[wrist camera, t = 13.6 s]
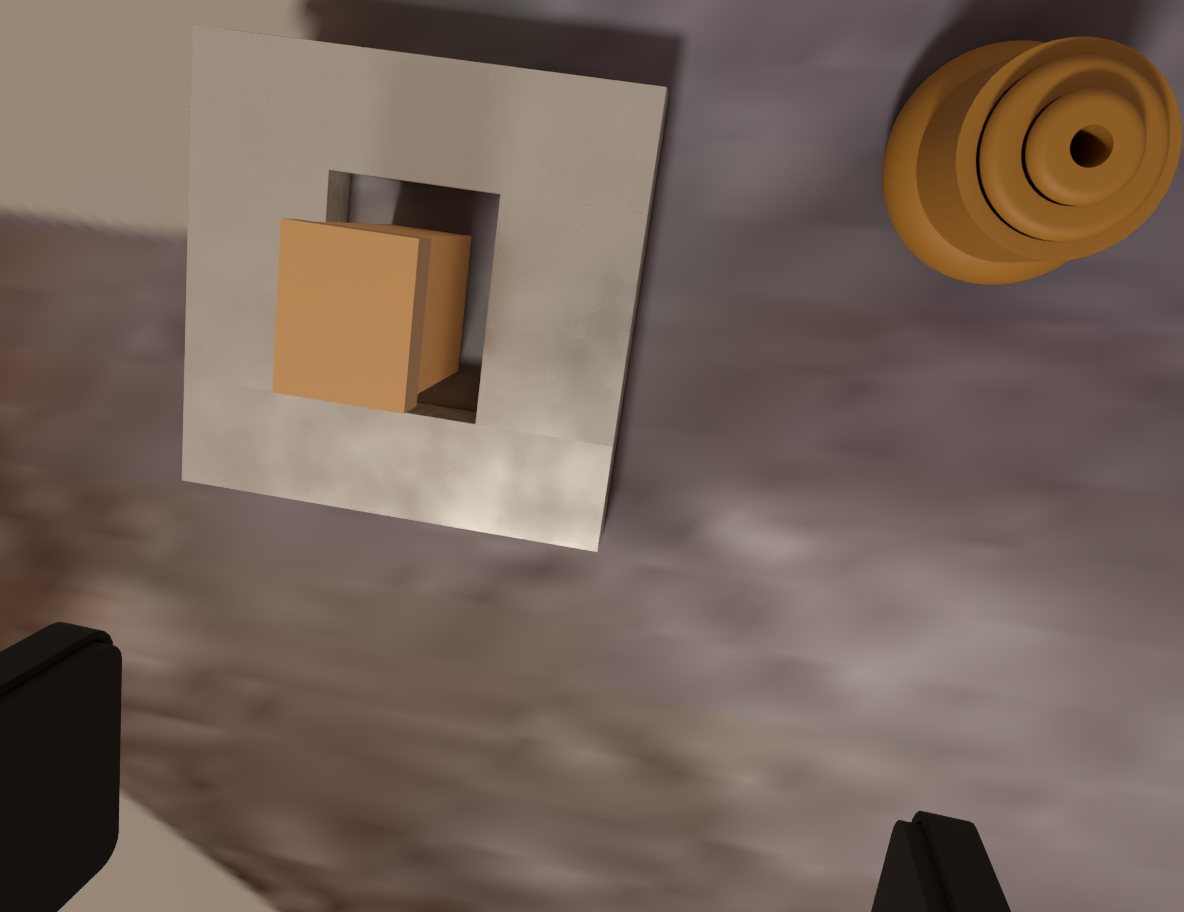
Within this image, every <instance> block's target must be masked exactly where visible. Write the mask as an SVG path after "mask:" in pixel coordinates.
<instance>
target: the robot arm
mask: <svg viewBox="0 0 1184 912" xmlns="http://www.w3.org/2000/svg"><path fill="white" fill-rule="evenodd" d="M121 682H122V656H121V652H120V650H119V648H117V647H116V646H113V641H112V639H111V637H110V635H109V634H107V633H106V632H105V631H101V630H97V629H92V628H88V627H83V626H78V625H74V624H69V623H64V622H57V623H54V624H51V625H49V626H47V627H45V628H44V629H42V630H40V631H38V632H36V633H34V634H33V635H31V636H29V637H27V638H25V639H23V640H21V641H20V642H18V643H16V644H14V645H12V646H10V647H9V648H7V649H5V650H3V651H1V652H0V912H57V911H58V910H59V909H60V908H62V907H63V906H64V905H65V904H66V903H67V902H68V901H69V900H70V899H71V898H72V897H73V896H74V895H75V894H76V893H77V892H78V891H79V890H80V889H81V888H82V887H83V886H84V885H85V884H86V883H87V882H88V881H89V880H90V879H91V878H93V876H95V874H97V873H98V872H99V871H100V870H101V869H102V868H103V866H104V865H105V864H106V863H107V862H108V860H109V858H110V857H111V855H112V853H113V851H114V848H115V846H116V843H117V839H118V833H119V784H120V733H121ZM871 912H1011V911H1010V908H1009V906H1008V903H1007V901H1006V898H1005V896H1004V894H1003V891H1002V889H1001V886H1000V884H999V882H998V879H997V877H996V874H995V872H994V869H993V867H992V865H991V862H990V860H989V857H988V855H987V853H986V850H985V848H984V845H983V843H982V840H981V838H980V836H979V833H978V831H977V829H976V827H975V825H974V824H973V823H971V822H969V821H965V820H960V819H956V818H951V817H947V816H942V815H938V814H933V813H928V812H924V811H918V812H917V813H916V814H915V816H914V817H913V819H912V822H906V821H902V820H898V821H897V822H896V824H895V825H894V828H893V831H892V834H891V838H890V842H889V846H888V850H887V853H886V857H885V861H884V865H883V869H882V872H881V876H880V880H879V884H878V888H877V891H876V895H875V899H874V903H873V907H872V910H871Z"/></svg>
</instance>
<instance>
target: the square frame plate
mask: <svg viewBox="0 0 1184 912" xmlns="http://www.w3.org/2000/svg"><path fill="white" fill-rule="evenodd" d="M191 72H192V73H191V114H190V116H191V117H190V156H189V157H190V158H189V199H188V241H187V284H186V327H185V370H184V413H183V456H182V480H184V481H190V482H196V483H202V484H207V485H213V486H219V487H225V488H231V489H236V490H242V491H248V492H254V493H259V494H265V495H271V496H277V497H283V498H288V499H294V500H300V501H306V502H312V503H317V504H323V505H329V506H335V507H340V508H346V509H352V510H358V511H364V512H369V513H375V514H381V515H387V516H393V517H398V518H404V519H410V520H416V521H421V522H427V523H433V524H439V525H445V526H450V527H456V528H462V529H468V530H474V531H479V532H485V533H491V534H497V535H502V536H508V537H514V538H520V539H526V540H531V541H537V542H543V543H549V544H555V545H560V546H566V547H572V548H578V549H583V550H589V551H595V552H597V551H598V548H599V545H600V542H601V538H602V535H603V530H604V523H605V516H606V510H607V503H608V497H609V490H610V483H611V477H612V470H613V463H614V457H615V450H616V443H617V437H618V430H619V423H620V417H621V410H622V404H623V397H624V390H625V384H626V377H627V370H628V364H629V357H630V350H631V344H632V337H633V331H634V324H635V317H636V311H637V304H638V297H639V291H640V284H641V277H642V271H643V264H644V257H645V251H646V244H647V238H648V231H649V224H650V218H651V211H652V204H653V198H654V191H655V184H656V178H657V171H658V165H659V158H660V151H661V145H662V138H663V131H664V125H665V118H666V111H667V105H668V98H669V95H668V90H667V87H662V86H655V85H647V84H640V83H632V82H624V81H617V80H609V79H602V78H594V77H586V76H579V75H571V74H564V73H556V72H548V71H541V70H533V69H526V68H518V67H510V66H503V65H495V64H488V63H480V62H472V61H465V60H457V59H450V58H442V57H434V56H427V55H419V54H411V53H404V52H396V51H389V50H381V49H373V48H366V47H358V46H351V45H343V44H335V43H328V42H320V41H313V40H305V39H297V38H290V37H282V36H275V35H267V34H259V33H252V32H244V31H237V30H229V29H221V28H214V27H206V26H198V25H193V28H192V70H191ZM351 174H358V175H365V176H372V177H379V178H386V179H393V180H400V181H407V182H414V183H421V184H428V185H435V186H442V187H449V188H456V189H463V190H470V191H477V192H484V193H491V194H498V195H500V203H499V212H498V221H497V231H496V240H495V249H494V258H493V267H492V277H491V286H490V295H489V304H488V313H487V323H486V332H485V341H484V350H483V360H482V369H481V378H480V387H479V396H478V406H477V412H475V411H469V410H463V409H457V408H451V407H444V406H438V405H432V404H426V403H420V402H417V405H416V407H414V408H413V409H411V410H409V411H408V412H406V413H404V414H402V413H396V412H390V411H384V410H377V409H371V408H365V407H359V406H353V405H346V404H340V403H334V402H328V401H322V400H316V399H309V398H303V397H297V396H291V395H285V394H279V393H272V391H273V370H274V349H275V328H276V307H277V286H278V265H279V245H280V224H281V218H282V219H301V220H308V221H315V222H340V223H347V222H348V207H349V192H350V177H351Z"/></svg>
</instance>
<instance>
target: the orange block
mask: <svg viewBox="0 0 1184 912" xmlns="http://www.w3.org/2000/svg"><path fill="white" fill-rule="evenodd" d="M471 238H472V236H468V235H461V234H454V233H447V232H441V231H434V230H427V229H420V228H413V227H406V226H399V225H392V224H367V223H340V222H315V221H308V220H301V219H282V218H281V224H280V245H279V265H278V286H277V307H276V328H275V349H274V370H273V391H272V393H279V394H285V395H291V396H297V397H303V398H309V399H316V400H322V401H328V402H334V403H340V404H346V405H353V406H359V407H365V408H371V409H377V410H384V411H390V412H396V413H402V414H404V413H406V412H408V411H409V410H411V409H413V408H414V407H416V405H417V394H418V393H420V392H422V391H424V390H426V389H427V388H429V387H431V386H433V385H434V384H436V383H438V382H440V381H441V380H443V379H445V378H447V377H449V376H450V375H452V374H454V373H456V372H457V371H458V367H459V357H460V347H461V337H462V327H463V318H464V308H465V298H466V288H467V278H468V268H469V258H470V248H471Z"/></svg>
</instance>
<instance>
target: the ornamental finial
mask: <svg viewBox="0 0 1184 912" xmlns="http://www.w3.org/2000/svg"><path fill="white" fill-rule="evenodd" d="M1008 88H1010V89H1009V91H1008V92H1007V93H1006V94H1004V95H1002V94H1003V93H1004V92H1005V91H1006V90H1007V89H1008ZM1181 137H1182V128H1181V119H1180V113H1179V109H1178V105H1177V102H1176V99H1175V97H1174V94H1173V91H1172V89H1171V88H1170V86H1169V84H1168V82H1167V81H1166V79H1165V78H1164V76H1163V75H1162V74H1161V72H1160V71H1159V70H1158V68H1157V67H1156V66H1154V65H1153V64H1152V63H1151V62H1150V61H1149V60H1148V59H1147V58H1146V57H1144V56H1143V55H1141V54H1140V53H1139V52H1137V51H1136V50H1134V49H1132V48H1130V47H1128V46H1126V45H1124V44H1121V43H1118V42H1115V41H1112V40H1108V39H1103V38H1098V37H1069V38H1063V39H1058V40H1054V41H1050V42H1047V43H1045V42H1040V41H1031V40H1015V41H1005V42H998V43H993V44H989V45H985V46H982V47H979V48H976V49H974V50H971V51H969V52H966V53H964V54H962V55H960V56H958V57H957V58H955V59H953V60H951V61H950V62H948V63H946V64H945V65H943V66H942V67H941V68H939V69H938V70H937V71H935V72H934V73H933V74H932V75H931V76H929V77H928V78H927V79H926V80H925V81H924V82H923V83H922V84H921V85H920V86H919V87H918V88H917V90H916V91H915V92H914V93H913V94H912V96H911V97H910V98H909V100H908V101H907V102H906V104H905V105H904V107H903V108H902V110H901V112H900V113H899V115H898V117H897V119H896V121H895V123H894V125H893V127H892V130H891V133H890V135H889V138H888V142H887V145H886V149H885V154H884V160H883V170H882V185H883V194H884V200H885V204H886V208H887V211H888V214H889V217H890V219H891V222H892V224H893V226H894V228H895V230H896V232H897V234H898V235H899V237H900V238H901V240H902V241H903V242H904V244H905V245H906V246H907V247H908V249H909V250H910V251H911V252H912V253H913V254H914V255H915V256H916V257H917V258H919V259H920V260H921V261H922V262H924V263H925V264H926V265H928V266H929V267H931V268H932V269H934V270H936V271H938V272H940V273H942V274H944V275H946V276H949V277H951V278H954V279H957V280H961V281H964V282H969V283H975V284H988V285H997V284H1009V283H1015V282H1020V281H1024V280H1028V279H1031V278H1034V277H1037V276H1040V275H1043V274H1045V273H1047V272H1049V271H1052V270H1053V269H1055V268H1057V267H1059V266H1061V265H1062V264H1064V263H1066V262H1067V261H1069V260H1072V259H1077V258H1082V257H1086V256H1089V255H1092V254H1095V253H1098V252H1100V251H1102V250H1105V249H1107V248H1109V247H1111V246H1113V245H1114V244H1116V243H1118V242H1119V241H1121V240H1123V239H1124V238H1126V237H1127V236H1128V235H1130V234H1131V233H1132V232H1134V231H1135V230H1136V229H1137V228H1138V227H1139V226H1140V225H1141V224H1142V223H1143V222H1145V221H1146V219H1147V218H1148V217H1149V216H1150V215H1151V214H1152V212H1153V211H1154V210H1155V209H1156V207H1157V206H1158V205H1159V203H1160V202H1161V200H1162V199H1163V197H1164V195H1165V193H1166V192H1167V190H1168V188H1169V186H1170V184H1171V181H1172V179H1173V177H1174V174H1175V172H1176V168H1177V164H1178V161H1179V156H1180V150H1181ZM1020 232H1023V233H1025V234H1027V236H1025V235H1022V234H1020Z"/></svg>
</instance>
